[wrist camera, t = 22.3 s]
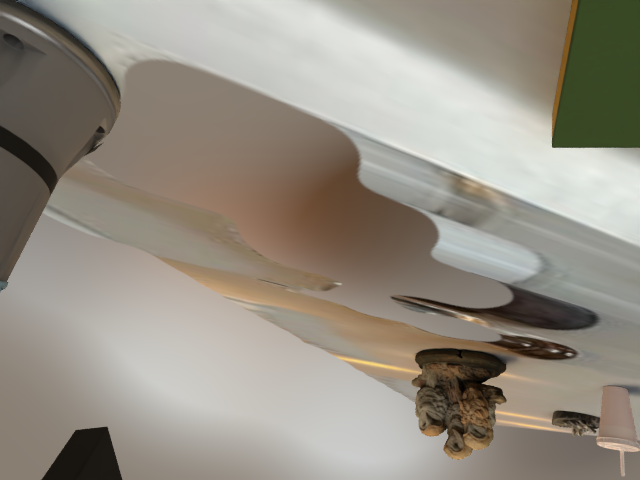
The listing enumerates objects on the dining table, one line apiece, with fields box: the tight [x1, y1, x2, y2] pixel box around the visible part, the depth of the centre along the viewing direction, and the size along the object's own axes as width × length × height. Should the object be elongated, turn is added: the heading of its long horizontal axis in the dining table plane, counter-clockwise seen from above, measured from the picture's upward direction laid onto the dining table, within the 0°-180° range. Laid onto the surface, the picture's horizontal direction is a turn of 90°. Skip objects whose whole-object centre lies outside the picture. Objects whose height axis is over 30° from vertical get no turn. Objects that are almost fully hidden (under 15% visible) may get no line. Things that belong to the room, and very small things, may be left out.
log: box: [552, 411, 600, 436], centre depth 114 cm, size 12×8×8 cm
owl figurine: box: [412, 349, 506, 460], centre depth 88 cm, size 18×12×17 cm, turn 135°
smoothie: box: [596, 386, 640, 476], centre depth 85 cm, size 6×6×14 cm
